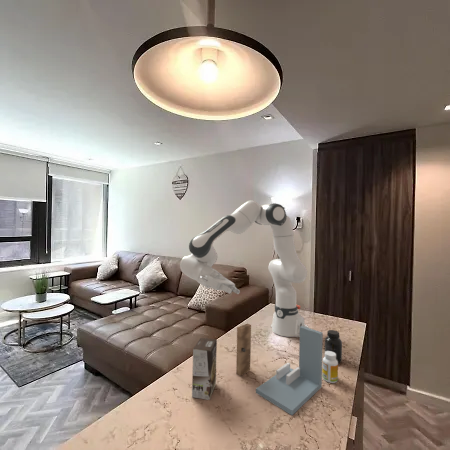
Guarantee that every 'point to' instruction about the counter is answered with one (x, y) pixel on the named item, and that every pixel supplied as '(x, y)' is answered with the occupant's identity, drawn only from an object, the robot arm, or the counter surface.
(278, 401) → the blue-grey l-shaped stand
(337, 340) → the supplement bottle
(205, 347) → the coffee box
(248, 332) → the door panel
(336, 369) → the supplement bottle
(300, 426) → the counter surface
